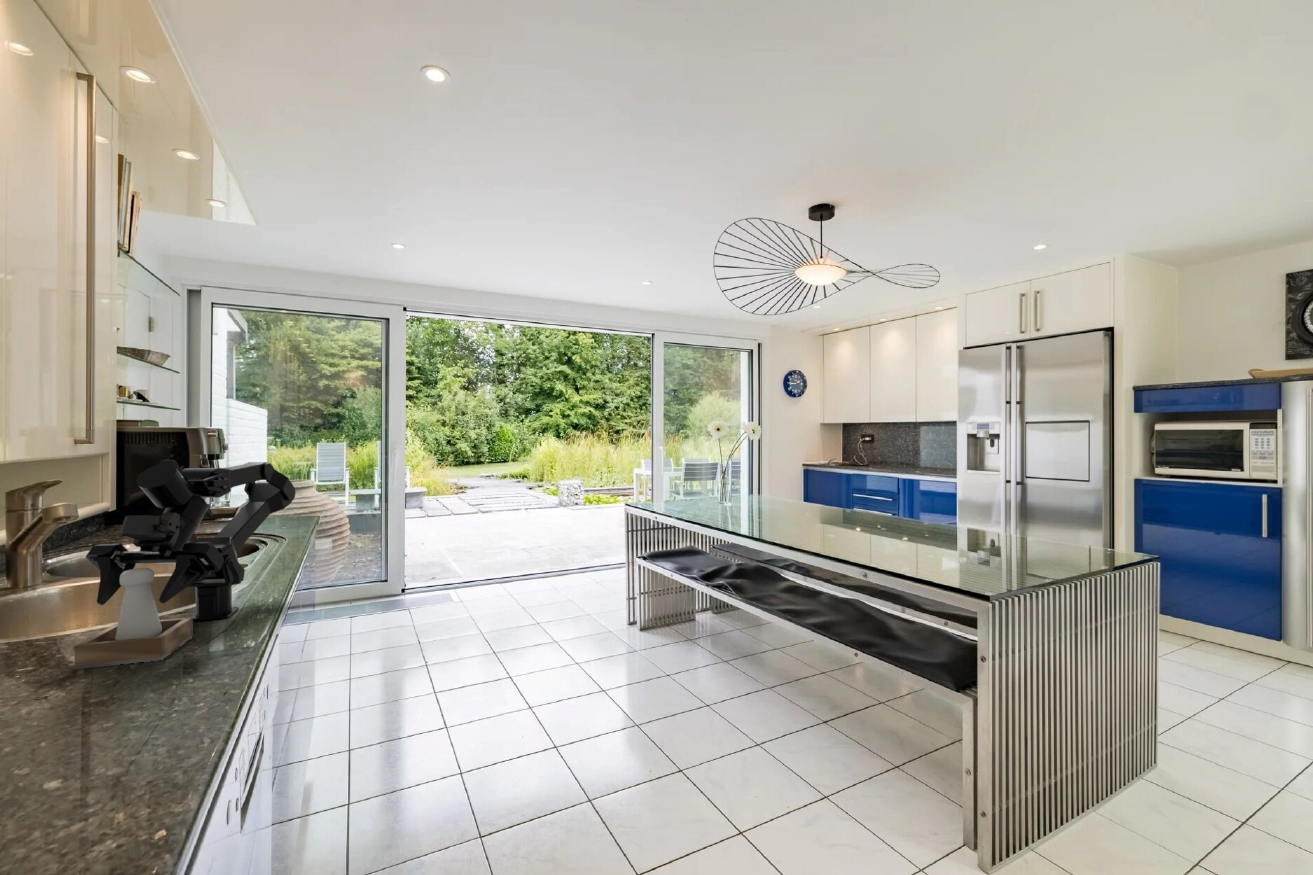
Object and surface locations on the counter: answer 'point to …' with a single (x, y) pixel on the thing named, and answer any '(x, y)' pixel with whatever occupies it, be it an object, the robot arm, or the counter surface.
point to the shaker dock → (132, 645)
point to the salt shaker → (138, 606)
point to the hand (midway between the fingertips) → (130, 602)
